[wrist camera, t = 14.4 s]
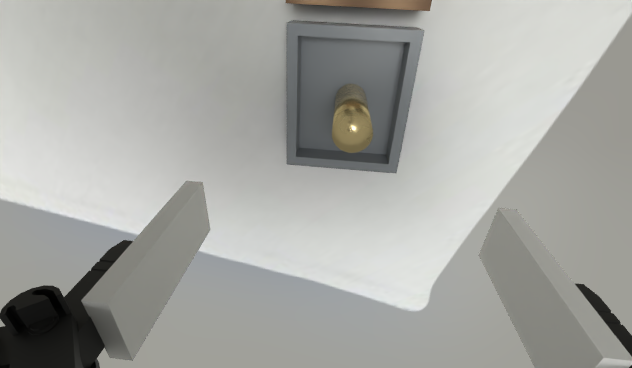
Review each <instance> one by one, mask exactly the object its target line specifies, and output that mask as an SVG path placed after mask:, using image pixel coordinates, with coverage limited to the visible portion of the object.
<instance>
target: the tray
mask: <svg viewBox="0 0 632 368" xmlns="http://www.w3.org/2000/svg"><path fill="white" fill-rule="evenodd" d="M423 36H424V30H422V29H419V28H414V27H397V26H380V25H362V24H345V23H327V22H310V21H290V22H287V164H290V165H302V166H314V167H326V168H338V169H350V170H362V171H374V172H386V173H396V172H397V167H398V162H399V157H400V152H401V147H402V142H403V137H404V132H405V127H406V122H407V117H408V112H409V107H410V101H411V96H412V91H413V86H414V81H415V76H416V71H417V66H418V61H419V56H420V51H421V46H422V41H423ZM346 84H356V85H359V86H360V87H361V88H362V89H363V90H364V92H365V94H366V99H367V104H368V109H369V114H370V119H371V123H372V128H373V138H372V140H371V142H370V144H369V145H368V146H367V147H366V148H365V149H364V150H362V151H359V152H356V153H348V152H344V151H342V150H340V149H339V148H338V147H337V146H336V145H335V143H334V142H333V139H332V127H333V117H334V108H335V98H336V94H337V92H338V90H339V89H340V88H341V87H342V86H344V85H346Z"/></svg>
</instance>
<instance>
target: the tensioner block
mask: <svg viewBox="0 0 632 368" xmlns="http://www.w3.org/2000/svg"><path fill="white" fill-rule="evenodd" d="M431 2H432V0H286V3H293V4H311V5H329V6H348V7H366V8H384V9H403V10H421V11H430V7H431Z"/></svg>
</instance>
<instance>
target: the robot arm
mask: <svg viewBox="0 0 632 368" xmlns="http://www.w3.org/2000/svg"><path fill="white" fill-rule="evenodd" d="M209 231H210V225H209V219H208V212H207V206H206V200H205V194H204V188H203V182H192V181H186V182H185V183H184V184H183V185H182V186H181V188H180V189H179V190H178V191H177V192H176V193H175V194H174V196H173V197H172V198H171V199H170V200H169V201H168V202H167V204H166V205H165V206H164V207H163V208H162V209H161V210H160V211H159V213H158V214H157V215H156V216H155V217H154V218H153V219H152V221H151V222H150V223H149V224H148V225H147V226H146V227H145V229H144V230H143V231H142V232H141V233H140V234H139V235H138V236H137V238H136V239H135V240H134V241H126V240H123V241H122V242H120V243H119V244H117V245H116V246H114V247H112V248H111V249H110V250H108V251H107V253H106V254H105V255H104V256H103V257H102V258H101V259H100V261H99V262H97V263H96V264H95V265H94V266H93V267H92V269H91V271H89V272H88V273H87V274H86V275H85V276H84V277H83V278H82V279H81V280H80V281H79V282H78V283H77V284H76V285H75V286H74V288H73V289H72V290H71V291H70V292H69V293H68V294H67V295H66V296H65V297H63V295H62V293H61V291H60V289H59V288H56V287H54V286H40V287H36V288H32V289H30V290H27V291H25V292H23V293H21V294H19V295H18V296H16V297H15V298H13V299H12V300H10V301H9V303H7V304H6V305H5V306H4V307H3V308H2V310H1V313H0V319H1V320H2V322H3V323H4V324H5V327H0V368H100V367H99V362H98V360H97V357H98V356H99V354H100V353H101V351H102V350H103V349H104V347H105V349H106V351H107V353H108V355H109V357H110V358H116V359H124V360H133V359H134V358H135V356H136V354H137V352H138V351H139V349H140V347H141V346H142V344H143V342H144V341H145V339H146V337H147V336H148V334H149V332H150V331H151V329H152V327H153V325H154V324H155V322H156V320H157V319H158V317H159V315H160V314H161V312H162V310H163V309H164V307H165V305H166V304H167V302H168V300H169V299H170V297H171V295H172V293H173V292H174V290H175V288H176V287H177V285H178V283H179V282H180V280H181V278H182V277H183V275H184V273H185V272H186V270H187V268H188V267H189V265H190V263H191V261H192V260H193V258H194V256H195V254H196V253H197V251H198V250H199V248H200V246H201V245H202V243H203V241H204V240H205V238H206V236H207V234H208V233H209ZM479 257H480V259H481V261H482V263H483V265H484V267H485V269H486V271H487V273H488V275H489V277H490V279H491V281H492V283H493V285H494V287H495V289H496V291H497V293H498V295H499V297H500V299H501V301H502V303H503V305H504V307H505V309H506V311H507V313H508V315H509V317H510V319H511V321H512V323H513V325H514V327H515V329H516V331H517V333H518V335H519V337H520V339H521V341H522V343H523V345H524V347H525V349H526V351H527V353H528V355H529V357H530V359H531V361H532V363H533V365H534V367H535V368H632V335H631V334H630V333H629V332H628V331H627V329H626V328H625V327H624V326H623V325H621V324H620V321H619V320H618V319H617V317H616V316H615V315H614V314H612V313H611V310H610V309H609V308H608V307H607V305H606V304H605V303H604V302H603V301H602V299H601V298H600V297H599V296H598V295H596V294H595V293H594V292H593V291H591V290H590V289H589V288H587V287H586V286H585V285H584V284H575V283H574V282H573V281H572V280H571V278H570V277H569V276H568V275H567V273H566V272H565V271H564V270H563V268H562V267H561V266H560V264H558V262H557V261H556V260H555V258H554V257H553V255H552V254H551V253H550V252H549V250H548V249H547V248H546V247H545V246H544V244H543V243H542V241H541V240H540V239H539V238H538V236H537V235H536V234H535V233H534V231H533V230H532V229H531V228H530V226H529V225H528V224H527V222H526V221H525V220H524V218H523V217H522V216H521V215H520V214H519V212H518V211H517V210H515V209H505V208H498V210H497V212H496V215H495V217H494V220H493V222H492V224H491V227H490V229H489V232H488V234H487V236H486V239H485V241H484V244H483V246H482V249H481V251H480V253H479Z"/></svg>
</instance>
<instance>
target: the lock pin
mask: <svg viewBox="0 0 632 368" xmlns="http://www.w3.org/2000/svg"><path fill="white" fill-rule="evenodd" d="M372 138H373V128H372V123H371V119H370V114H369V109H368V104H367V99H366V94H365V92H364V90H363V89H362V88H361V87H360V86H359V85H356V84H346V85H344V86H342V87H341V88H340V89H339V90H338V92H337V94H336V98H335V108H334V117H333V127H332V139H333V142H334V143H335V145H336V146H337V147H338V148H339V149H340V150H342V151H344V152H348V153H356V152H359V151H362V150H364V149H365V148H366V147H367V146H368V145H369V144H370V142H371V140H372Z"/></svg>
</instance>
